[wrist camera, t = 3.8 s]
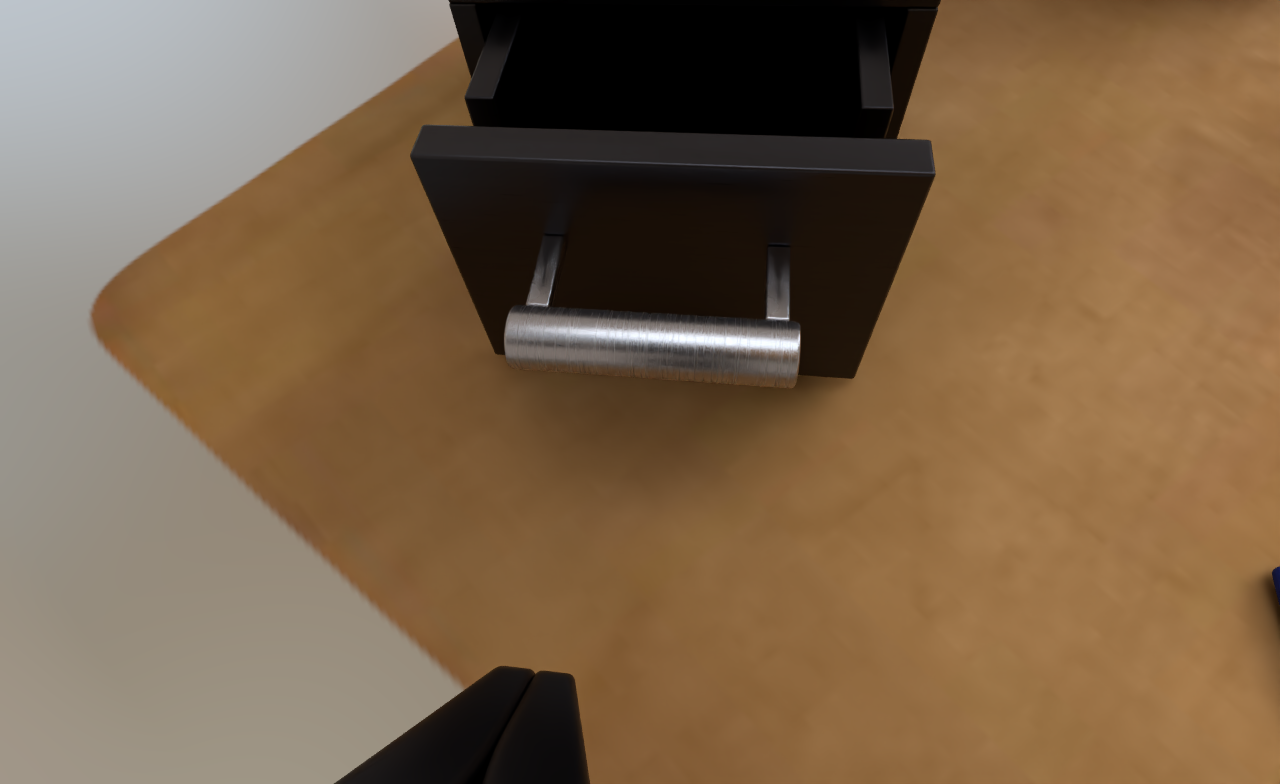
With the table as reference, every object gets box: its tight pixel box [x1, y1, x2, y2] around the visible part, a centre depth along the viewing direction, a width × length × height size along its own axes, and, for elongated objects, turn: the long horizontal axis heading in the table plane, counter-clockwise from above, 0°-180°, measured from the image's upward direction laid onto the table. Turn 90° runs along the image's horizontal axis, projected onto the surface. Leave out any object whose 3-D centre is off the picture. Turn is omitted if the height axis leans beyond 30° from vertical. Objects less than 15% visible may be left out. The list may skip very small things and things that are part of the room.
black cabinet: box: [449, 0, 941, 139], centre depth 27 cm, size 16×14×11 cm
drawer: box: [410, 3, 936, 388], centre depth 22 cm, size 18×12×9 cm
